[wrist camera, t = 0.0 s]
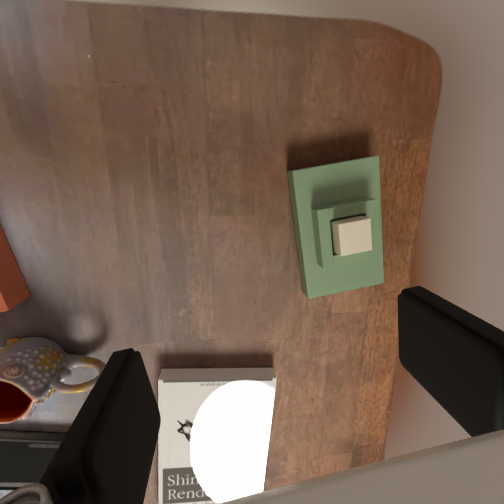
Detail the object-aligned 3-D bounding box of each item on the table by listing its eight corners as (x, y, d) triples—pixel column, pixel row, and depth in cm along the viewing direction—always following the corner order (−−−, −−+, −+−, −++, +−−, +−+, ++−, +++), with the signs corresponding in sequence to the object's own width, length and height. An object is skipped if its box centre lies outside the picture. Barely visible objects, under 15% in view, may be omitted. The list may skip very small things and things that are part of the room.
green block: (286, 171, 30) (297, 170, 26) (367, 156, 31) (389, 154, 27) (302, 291, 34) (313, 306, 30) (373, 276, 35) (393, 289, 31)
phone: (107, 491, 37) (-26, 489, 34) (110, 482, 38) (-19, 480, 35) (112, 443, 35) (-28, 437, 32) (115, 435, 36) (-20, 428, 33)
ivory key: (330, 221, 28) (338, 224, 27) (361, 215, 28) (370, 218, 27) (333, 251, 29) (340, 256, 27) (363, 245, 29) (372, 250, 28)
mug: (7, 384, 32) (-44, 435, 26) (0, 330, 31) (-57, 371, 24) (119, 383, 34) (96, 431, 28) (117, 332, 32) (93, 371, 26)
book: (257, 501, 42) (259, 516, 40) (161, 508, 40) (158, 525, 38) (273, 367, 36) (276, 378, 34) (161, 368, 34) (158, 380, 32)
